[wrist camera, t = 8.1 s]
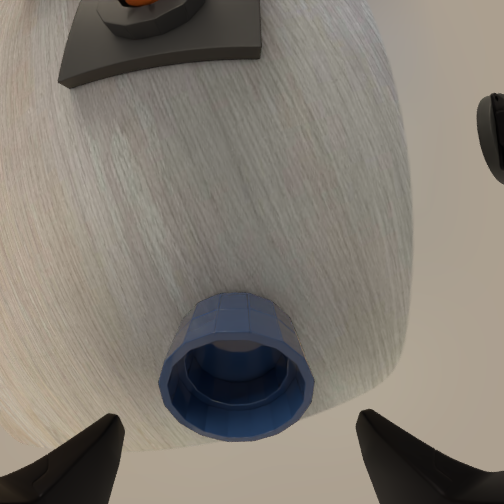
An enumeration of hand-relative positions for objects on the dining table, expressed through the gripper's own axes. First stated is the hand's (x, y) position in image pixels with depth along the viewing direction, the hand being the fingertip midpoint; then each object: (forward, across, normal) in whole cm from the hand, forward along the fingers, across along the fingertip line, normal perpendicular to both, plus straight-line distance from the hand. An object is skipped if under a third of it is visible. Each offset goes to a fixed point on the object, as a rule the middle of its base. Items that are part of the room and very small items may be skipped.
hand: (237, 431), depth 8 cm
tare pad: (+6, +4, -19) cm, 20 cm away
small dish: (+6, 0, 0) cm, 7 cm away
